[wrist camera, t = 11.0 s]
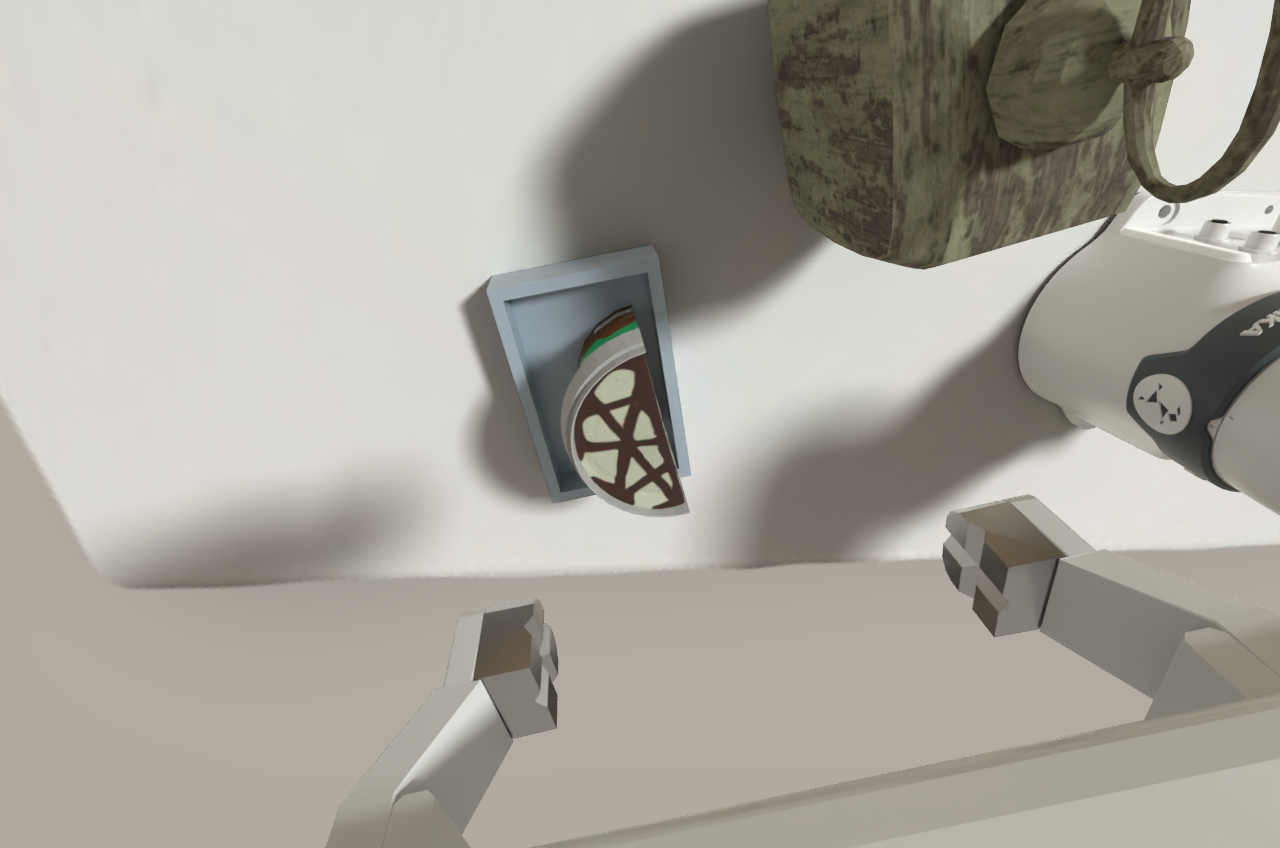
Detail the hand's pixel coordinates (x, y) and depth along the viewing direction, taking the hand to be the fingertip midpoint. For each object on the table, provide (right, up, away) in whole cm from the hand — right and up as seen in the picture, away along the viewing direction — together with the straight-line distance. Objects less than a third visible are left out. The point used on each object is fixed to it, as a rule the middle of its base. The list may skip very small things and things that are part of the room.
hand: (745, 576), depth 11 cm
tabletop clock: (+9, +24, +23) cm, 34 cm away
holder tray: (-5, +7, +30) cm, 32 cm away
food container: (-5, +6, +30) cm, 31 cm away
